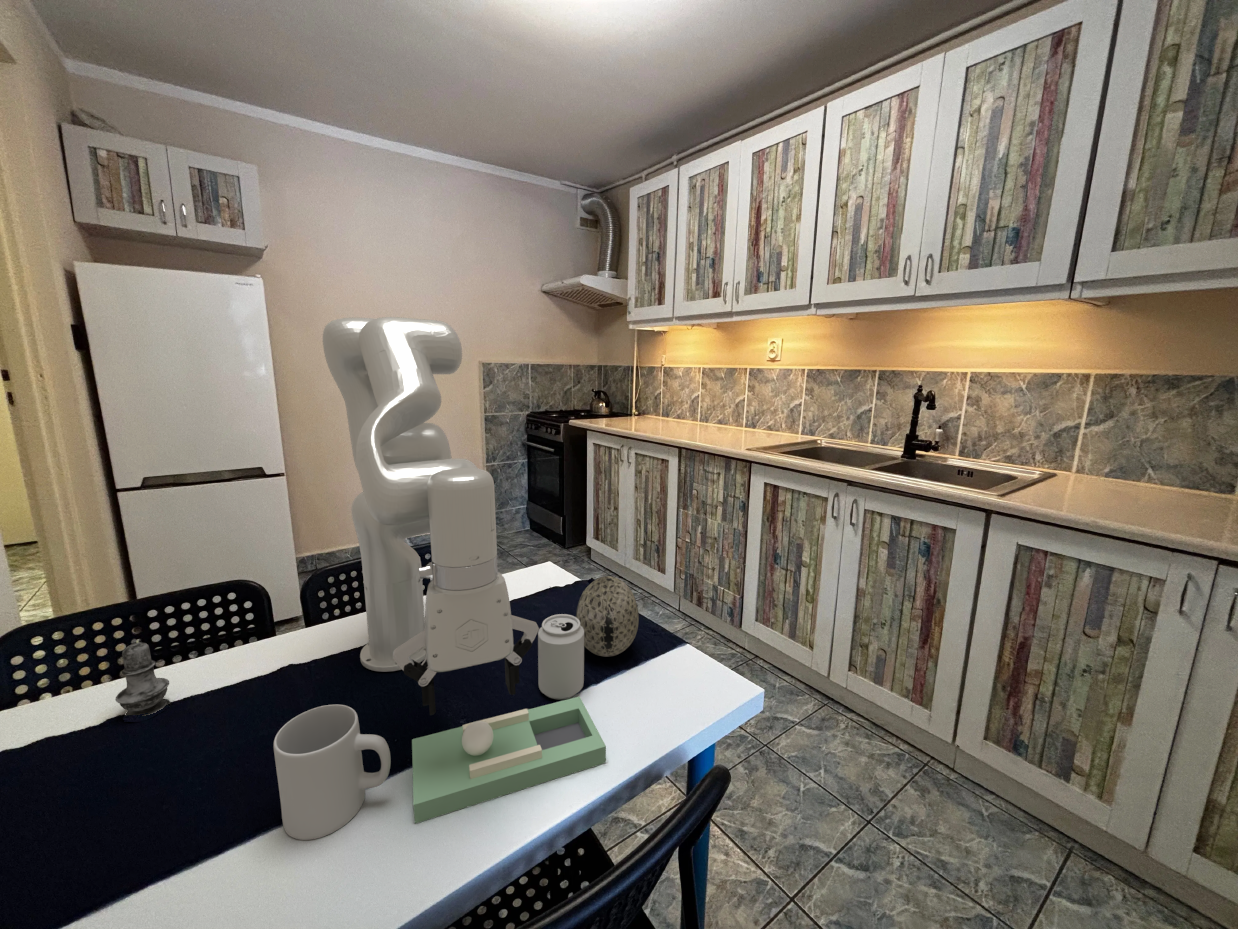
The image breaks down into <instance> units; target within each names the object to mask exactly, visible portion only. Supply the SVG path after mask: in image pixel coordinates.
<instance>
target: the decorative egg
mask: <svg viewBox="0 0 1238 929" xmlns="http://www.w3.org/2000/svg"><path fill="white" fill-rule="evenodd" d="M639 616H640V615H639V608H638V603H637V601H636V598H635V595H634V593H633V591H632V590H631V589H630V587H629V585H627V584H626V582H624V581H623V580H622V579H620V578H618V577H615V576H611V575H609V576H608V575H606V576H601V577H599V578H596V579H595V580H593V581H592V582H591V583H589V584H588V585H587V587H585V589H584V590H583V591H582V594H581V595H580V597H579V600H578V603H577V606H576V611H575V617H576V618H577V619H579V621H580V625H581V626H582V627H583V629H584V648H585V649H587V650H588V651H589V652H591V653H592V654H593V655H596V656H599V657H602V658H603V657H605V658H606V657H608V658H609V657H615V656H617V655H619V654H622V653H623V652H624V651H626V650H627V649H629V647H630V646H631V645H632V643H633V642H634V639H635V638H636V635H637V632H638V628H639V624H640V623H639V619H640V617H639Z"/></svg>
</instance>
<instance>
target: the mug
mask: <svg viewBox="0 0 1238 929" xmlns="http://www.w3.org/2000/svg"><path fill="white" fill-rule="evenodd" d="M364 750H373V751H375V752H376V753H377V754H378V757H379V760H380V769H379V771H375V772H367V771H365V770H364V765H363V764H364V763H363V754H362V751H364ZM273 753H274V761H275V767H276V768H275V769H276V776H277V783H278V784H277V786H278V791H279V799H280V800H279V801H280V809H281V810H280V811H281V819H282V826H283V829H284V831H285V833H286V834H287V835H288V836H290V837H291V838H293V839H296V840H299V841H309V840H310V841H311V840H316V839H321V838H323V837H326V836H328V835H330V834H332V833H335V832H336V831H338V830H340V829H341V828H342V827H344V826H345V825H347V824H348V823H349V822H350V821H351V820H352V819H353V818H355V817H356V815H357V814H358V813H359V811H360V809H361V808H362V806H363V804H364V801H365V799H366V798H365V797H366V789H367V790H368V789H372V788H377V787H380V785H382V784H384V783H385V781H387V779H388V776H389V774H390V769H391V764H392V763H391V762H392V761H391V759H392V758H391V751H390V748H389V744H388V743H387V741H386V739H385V738H384V737H382V736H381V735H378V734H370V733H369V734H367V733H365V734H363V733H361V730H360V723H359V717H358V713H357V712H356V710H355V709H354V708H352V707H350V706H348V705H345V704H328V705H321V706H317V707H314V708H311V709H308V710H307V711H304V712H302V713H300V714H298V715H296V716H295V717H293V718H291V719H290V720H288V721H287V722H286V723H285V724H284V725H283V726H282V727H281V728H280V729H279V730H278V731H277V733H276V735H275V737H274V740H273Z"/></svg>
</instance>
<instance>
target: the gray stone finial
mask: <svg viewBox="0 0 1238 929" xmlns="http://www.w3.org/2000/svg"><path fill="white" fill-rule="evenodd" d="M130 643H131V644H130V645H128V646H127V647H125V648H124V649H123V650H122V652H121V653H122V654H121V656H122V662H123V666H124V668H123V669H122V670H121V674H122V675H124V676H125V681H126V688H123V689H122V690H121V691H119V692H118V693H117V695H116V697H115V702H116V703H118V704H119V705H120V706H121V708H123V710H124V711H125V710H126V712H127V713H126V712H125V713H126V716H127V715H140V714H144V715H142V716H146V715H150V714H153V713H156V712H157V711H159V710H161V709H163V708H164V707H165V706H166V705H168V704H170V705H171V701H170V699H167V698H165V697H166V694H167V692H168V686H169V685H170V680H169V679H168V678H165V677H157V675H156V674H155V669H154V666H155V665H156V661H155V660H153V659H152V656H151V649H150V646H149V644H147V643H146V642H138V640H137V639H136V638H132V639H131V641H130ZM145 713H148V714H145Z"/></svg>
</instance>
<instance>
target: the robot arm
mask: <svg viewBox="0 0 1238 929" xmlns="http://www.w3.org/2000/svg"><path fill="white" fill-rule="evenodd" d="M322 332H323V333H322V346H323V353H324V357H325V360H326V364H327V367H328V369H329V372H330V374H331V376H332V378H333V381H334V382H335V384H336V386H337V388H338V390H339V392H340V394H341V396H342V399H343V400H344V405H345V409H346V416H347V423H348V430H349V438H350V445H351V450H352V457H353V461H354V465H355V469H356V471H357V472H358V477H359V481H360V485H361V489H362V492H361V493H358V495H356V496H355V498H354V499H353V501H352V504H351V509H350V510H351V518H352V523H353V526H354V530H355V532H356V537H357V541H358V542H357V543H358V546H359V551H360V558H361V566H362V567H361V568H362V576H363V587H364V588H363V589H364V600H365V610H366V612H365V615H366V624H367V635H368V637H367V638H368V642H367V644H365V645H364V646H363V647H362V649H361V650H360V654H359V658H360V659H359V660H360V663H361V665H362V666H363V667H364V668H366V669H368V670H371V671H374V672H381V673H384V672H386V673H387V672H396V671H401V670H402V671H403V674H404V675H406V676H407V677H409V679H410V678H411V679H412V680H414V681H415V682H417V683H418V686H420V687H421V699H422V707H426V706H428V707H429V708H428V709H429V710H428V711H429V716H433V715H435V713H437V709H436V694H435V692H436V691H435V682H434V677H435V676H436V674H437V673H445V672H451V671H455V670H459V669H465V668H468V667H473V666H478V665H479V666H480V665H482V664H488V663H492V662H495V661H501V660H503V659H504V672H505V673H504V675H505V676H504V677H505V678H504V680H505V685H506V688H507V691H508V694H509V695H510V696H514V695H516V685H517V684H520V664H521V663H522V662H523V658H524V657H525V656H526V654H527V653H528V652H529V651H530V649H531V648H532V647H533V642H534V641H535V639H536V636H538V631H539V629H540V627H539V625H538V624H537V622H536V621H533V620H529V619H526V618H524V617H520V616H516V615H512V611H511V610H512V609H511V602H510V597H509V591H508V587H507V583H506V578H505V577H504V576H503V575H502V574H501V573H500V572H499V570H498V547H497V545H498V544H497V543H498V542H497V520H496V517H497V516H496V499H495V497H496V496H495V483H494V482H495V481H494V478H493V476H492V474H491V473H490V472H488V470H485V469H481V468H478V466H477V465H476V464H475V463H474V462H473V461H471V460H469V459H466V458H452V452H451V447H450V443H449V440H448V437H447V435H446V433H445V431H444V429H442V427H440V426H439V425H438V424H435V423H432V422H428V421H429V420H430V419H432V418H433V417H434V416H435V415H436V414H437V413H438V412H439V410H440V408H441V405H442V395H441V392H440V389H439V386H438V384H437V381H436V379H435V377H434V375H452V374H455V373H456V372H458V370H459V368H460V366H461V364H462V359H463V348H462V343H461V339H460V338H459V334H458V333H457V332H456V330H455V329H454V327H452V325H450V324H449V323H448V322H445V321H442V320H436V319H435V320H434V319H421V318H414V317H413V318H411V317H398V316H384V317H383V316H382V317H377V318H371V317H342V318H337V319H334V320H331V321H330V322H328V323H327V324H326V325H325V326H324V328H323V331H322ZM425 534H426V535H427V534H429V537H430V551H431V562H430V561H429V562H428V565H427V564H426V565H425V566H422V561H421V558H420V556H419V554H418V552H417V551H416V550H415V549H414V548H413V547H412V546H410V545H409V544H408V543H406V542H405V540H406V539H409V538H413V537H416V536H421V535H425ZM423 579H427V580H429V579H430V582H429V583H428V585H427V591H426V596H425V603H424V589H423V587H424V586H423ZM513 630H516V631H521V632H523V635H522V636H521V637H520V638H519V639H518V641H517V642H516V643H515V644H514V631H513ZM421 662H422V663H421Z"/></svg>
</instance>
